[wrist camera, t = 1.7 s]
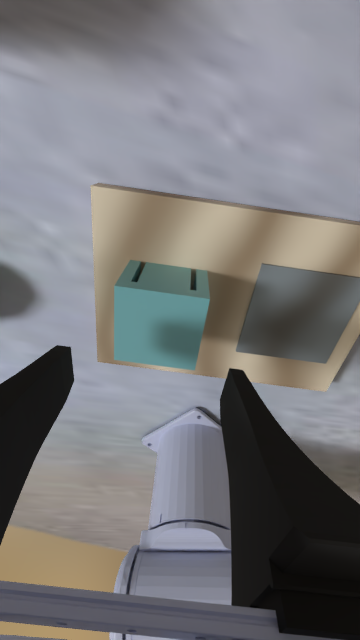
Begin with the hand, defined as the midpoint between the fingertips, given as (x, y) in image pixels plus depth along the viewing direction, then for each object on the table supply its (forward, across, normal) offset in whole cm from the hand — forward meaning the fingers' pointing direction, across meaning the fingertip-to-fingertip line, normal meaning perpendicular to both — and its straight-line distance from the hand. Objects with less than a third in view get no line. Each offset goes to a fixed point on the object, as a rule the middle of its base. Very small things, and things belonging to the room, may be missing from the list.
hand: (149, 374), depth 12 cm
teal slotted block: (+8, 0, 0) cm, 8 cm away
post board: (+9, -5, 0) cm, 10 cm away
